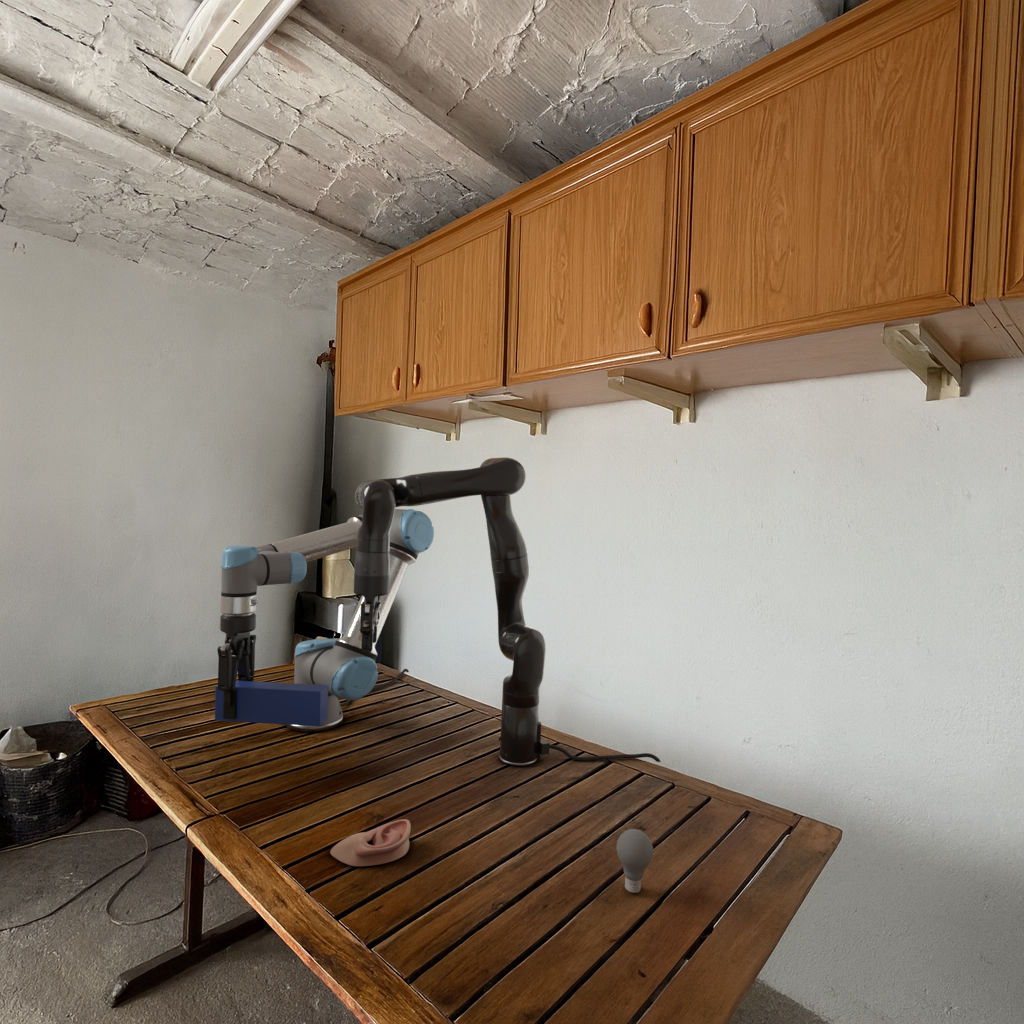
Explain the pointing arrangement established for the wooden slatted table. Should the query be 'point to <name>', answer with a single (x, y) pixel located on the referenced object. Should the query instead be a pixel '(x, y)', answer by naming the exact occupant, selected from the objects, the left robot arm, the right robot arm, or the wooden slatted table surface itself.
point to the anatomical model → (374, 845)
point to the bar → (277, 703)
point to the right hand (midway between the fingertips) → (369, 646)
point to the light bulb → (634, 857)
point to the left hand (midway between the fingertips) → (235, 713)
